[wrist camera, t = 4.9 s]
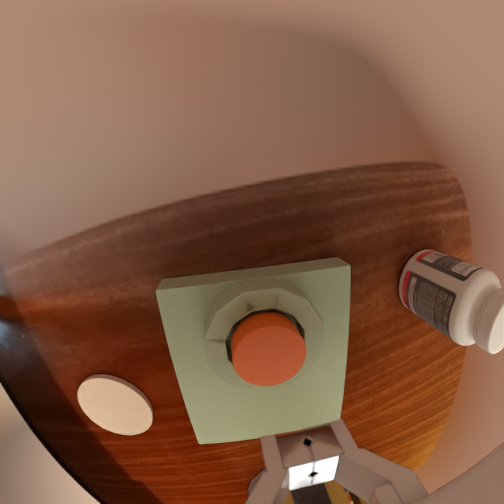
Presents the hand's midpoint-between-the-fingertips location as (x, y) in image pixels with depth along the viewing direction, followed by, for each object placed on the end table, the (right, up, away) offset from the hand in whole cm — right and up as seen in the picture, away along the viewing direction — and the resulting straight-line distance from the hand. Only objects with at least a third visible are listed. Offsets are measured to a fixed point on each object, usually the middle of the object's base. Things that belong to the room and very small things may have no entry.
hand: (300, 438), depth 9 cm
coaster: (-14, -7, +12) cm, 19 cm away
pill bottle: (+12, +4, +13) cm, 18 cm away
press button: (-1, +1, +8) cm, 8 cm away
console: (-1, -1, +12) cm, 12 cm away
